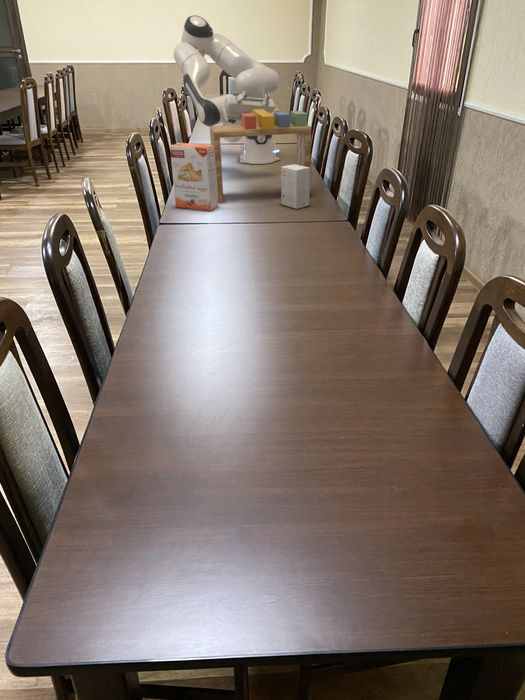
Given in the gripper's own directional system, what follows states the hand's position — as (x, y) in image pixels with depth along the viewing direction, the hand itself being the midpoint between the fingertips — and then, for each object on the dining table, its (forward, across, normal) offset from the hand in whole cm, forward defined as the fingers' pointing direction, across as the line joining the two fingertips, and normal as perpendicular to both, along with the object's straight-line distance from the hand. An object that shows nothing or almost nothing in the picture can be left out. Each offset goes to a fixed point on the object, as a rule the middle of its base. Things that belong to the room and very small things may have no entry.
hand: (257, 93), depth 203 cm
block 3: (+14, -6, -21) cm, 26 cm away
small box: (+10, 0, -50) cm, 50 cm away
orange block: (+8, +5, -18) cm, 20 cm away
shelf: (-4, +4, -39) cm, 39 cm away
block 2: (+12, 0, -21) cm, 24 cm away
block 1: (+9, +11, -20) cm, 25 cm away
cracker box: (-4, +31, -44) cm, 54 cm away
